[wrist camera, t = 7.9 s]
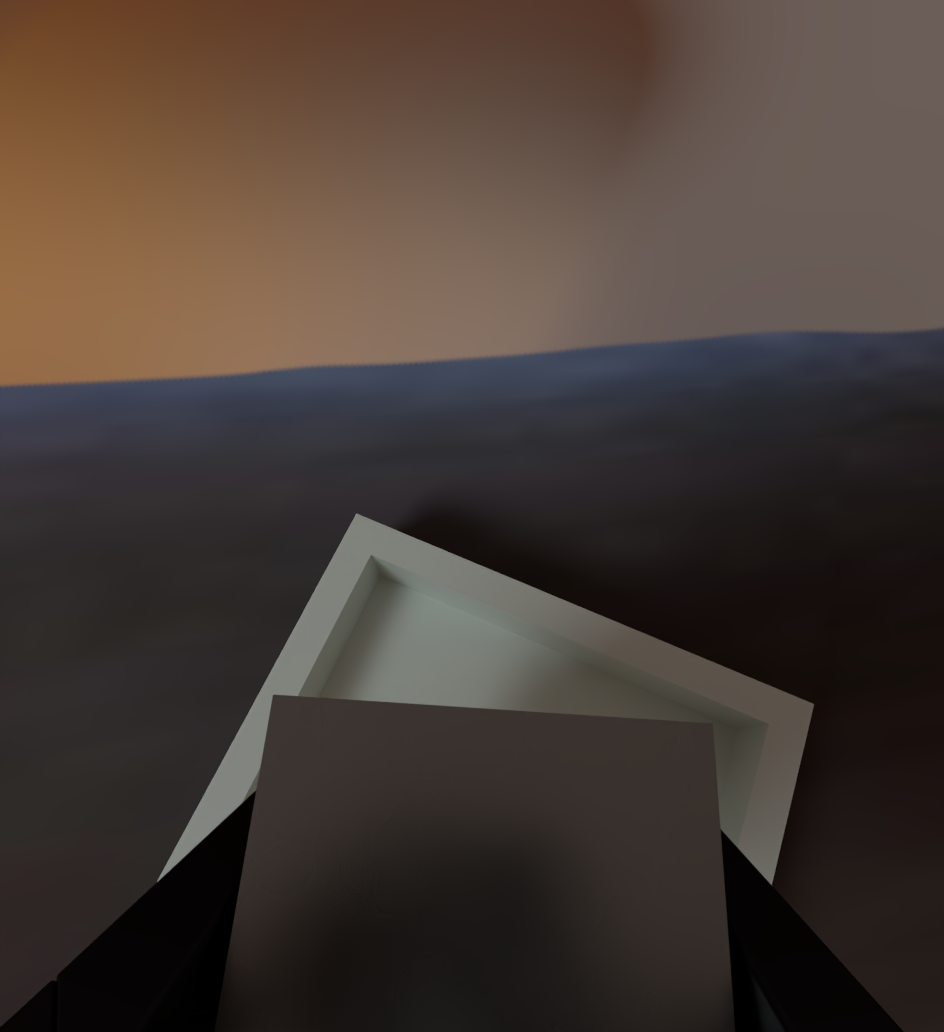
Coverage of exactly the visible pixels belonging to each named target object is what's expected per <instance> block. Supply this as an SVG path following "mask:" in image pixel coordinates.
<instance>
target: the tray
mask: <svg viewBox="0 0 944 1032" xmlns="http://www.w3.org/2000/svg"><path fill="white" fill-rule="evenodd" d="M273 695H288V696H303V697H319V698H334V699H349V700H364V701H379V702H394V703H409V704H425V705H440V706H455V707H470V708H485V709H500V710H516V711H531V712H546V713H561V714H576V715H591V716H606V717H622V718H637V719H652V720H667V721H682V722H697V723H713V733H714V747H715V760H716V774H717V788H718V801H719V815H720V829H721V830H722V831H723V832H724V833H725V834H726V835H727V836H728V837H729V839H730V840H731V841H732V842H733V843H734V844H735V845H736V846H737V847H738V849H739V850H740V851H741V852H742V853H743V854H744V855H745V856H746V857H747V859H748V860H749V861H750V862H751V863H752V864H753V865H754V866H755V867H756V869H757V870H758V871H759V872H760V873H761V874H762V875H763V876H764V877H765V879H766V880H767V881H768V882H769V883H770V884H771V885H772V882H773V878H774V873H775V869H776V865H777V861H778V856H779V852H780V848H781V844H782V839H783V835H784V831H785V826H786V822H787V818H788V814H789V809H790V805H791V801H792V797H793V792H794V788H795V784H796V779H797V775H798V771H799V767H800V762H801V758H802V754H803V749H804V745H805V741H806V737H807V732H808V728H809V724H810V720H811V715H812V711H813V707H814V704H812V703H810V702H808V701H805V700H803V699H800V698H798V697H796V696H793V695H791V694H788V693H786V692H784V691H781V690H779V689H776V688H774V687H772V686H769V685H767V684H764V683H762V682H760V681H757V680H755V679H752V678H750V677H748V676H745V675H743V674H740V673H738V672H736V671H733V670H731V669H728V668H726V667H724V666H721V665H719V664H716V663H714V662H712V661H709V660H707V659H704V658H702V657H700V656H697V655H695V654H692V653H690V652H688V651H685V650H683V649H680V648H678V647H676V646H673V645H671V644H668V643H666V642H664V641H661V640H659V639H656V638H654V637H652V636H649V635H647V634H644V633H642V632H639V631H637V630H635V629H632V628H630V627H627V626H625V625H623V624H620V623H618V622H615V621H613V620H611V619H608V618H606V617H603V616H601V615H599V614H596V613H594V612H591V611H589V610H587V609H584V608H582V607H579V606H577V605H575V604H572V603H570V602H567V601H565V600H563V599H560V598H558V597H555V596H553V595H551V594H548V593H546V592H543V591H541V590H539V589H536V588H534V587H531V586H529V585H527V584H524V583H522V582H519V581H517V580H515V579H512V578H510V577H507V576H505V575H503V574H500V573H498V572H495V571H493V570H491V569H488V568H486V567H483V566H481V565H479V564H476V563H474V562H471V561H469V560H467V559H464V558H462V557H459V556H457V555H455V554H452V553H450V552H447V551H445V550H443V549H440V548H438V547H435V546H433V545H431V544H428V543H426V542H423V541H421V540H418V539H416V538H414V537H411V536H409V535H406V534H404V533H402V532H399V531H397V530H394V529H392V528H390V527H387V526H385V525H382V524H380V523H378V522H375V521H373V520H370V519H368V518H366V517H363V516H361V515H358V514H356V515H355V517H354V519H353V521H352V523H351V525H350V527H349V528H348V530H347V532H346V534H345V536H344V538H343V539H342V541H341V543H340V545H339V547H338V549H337V551H336V552H335V554H334V556H333V558H332V560H331V562H330V563H329V565H328V567H327V569H326V571H325V573H324V575H323V576H322V578H321V580H320V582H319V584H318V586H317V587H316V589H315V591H314V593H313V595H312V597H311V599H310V600H309V602H308V604H307V606H306V608H305V610H304V611H303V613H302V615H301V617H300V619H299V621H298V622H297V624H296V626H295V628H294V630H293V632H292V634H291V635H290V637H289V639H288V641H287V643H286V645H285V646H284V648H283V650H282V652H281V654H280V656H279V658H278V659H277V661H276V663H275V665H274V667H273V669H272V670H271V672H270V674H269V676H268V678H267V680H266V682H265V683H264V685H263V687H262V689H261V691H260V693H259V694H258V696H257V698H256V700H255V702H254V704H253V706H252V707H251V709H250V711H249V713H248V715H247V717H246V718H245V720H244V722H243V724H242V726H241V728H240V730H239V731H238V733H237V735H236V737H235V739H234V741H233V742H232V744H231V746H230V748H229V750H228V752H227V753H226V755H225V757H224V759H223V761H222V763H221V765H220V766H219V768H218V770H217V772H216V774H215V776H214V777H213V779H212V781H211V783H210V785H209V787H208V789H207V790H206V792H205V794H204V796H203V798H202V800H201V801H200V803H199V805H198V807H197V809H196V811H195V813H194V814H193V816H192V818H191V820H190V822H189V824H188V825H187V827H186V829H185V831H184V833H183V835H182V837H181V838H180V840H179V842H178V844H177V846H176V848H175V849H174V851H173V853H172V855H171V857H170V859H169V861H168V862H167V864H166V866H165V868H164V870H163V872H162V873H161V875H160V877H159V879H158V881H159V880H160V879H161V878H162V877H163V876H164V875H165V874H166V873H167V872H169V871H170V870H171V869H172V868H173V867H174V866H175V865H176V864H177V863H178V862H179V861H180V860H181V859H183V858H184V857H185V856H186V855H187V854H188V853H189V852H190V851H191V850H192V849H193V848H194V847H195V846H196V845H198V844H199V843H200V842H201V841H202V840H203V839H204V838H205V837H206V836H207V835H208V834H209V833H210V832H211V831H213V830H214V829H215V828H216V827H217V826H218V825H219V824H220V823H221V822H222V821H223V820H224V819H225V818H227V817H228V816H229V815H230V814H231V813H232V812H233V811H234V810H235V809H236V808H237V807H238V806H239V805H240V804H242V803H243V802H244V801H245V800H246V799H247V798H248V797H249V796H250V795H251V794H252V793H253V792H254V791H256V789H257V784H258V778H259V772H260V766H261V761H262V755H263V749H264V743H265V738H266V732H267V726H268V720H269V715H270V709H271V703H272V697H273ZM158 881H157V882H158Z"/></svg>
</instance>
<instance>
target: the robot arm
mask: <svg viewBox="0 0 944 1032" xmlns="http://www.w3.org/2000/svg"><path fill="white" fill-rule="evenodd" d="M255 795H256V791H254V792H253V793H252V794H251V795H250V796H249V797H248V798H247V799H246V800H245V801H244V802H243V803H242V804H240V805H239V806H238V807H237V808H236V809H235V810H234V811H233V812H232V813H231V814H230V815H229V816H228V817H227V818H225V819H224V820H223V821H222V822H221V823H220V824H219V825H218V826H217V827H216V828H215V829H214V830H213V831H211V832H210V833H209V834H208V835H207V836H206V837H205V838H204V839H203V840H202V841H201V842H200V843H199V844H198V845H196V846H195V847H194V848H193V849H192V850H191V851H190V852H189V853H188V854H187V855H186V856H185V857H184V858H183V859H181V860H180V861H179V862H178V863H177V864H176V865H175V866H174V867H173V868H172V869H171V870H170V871H169V872H167V873H166V874H165V875H164V876H163V877H162V878H161V879H160V880H159V881H158V882H157V883H156V884H155V885H154V886H152V887H151V888H150V889H149V890H148V891H147V892H146V893H145V894H144V895H143V896H142V897H141V898H140V899H138V900H137V901H136V902H135V903H134V904H133V905H132V906H131V907H130V908H129V909H128V910H127V911H126V912H125V913H123V914H122V915H121V916H120V917H119V918H118V919H117V920H116V921H115V922H114V923H113V924H112V925H111V926H109V927H108V928H107V929H106V930H105V931H104V932H103V933H102V934H101V935H100V936H99V937H98V938H97V939H96V940H94V941H93V942H92V943H91V944H90V945H89V946H88V947H87V948H86V949H85V950H84V951H83V952H82V953H81V954H79V955H78V956H77V957H76V958H75V959H74V960H73V961H72V962H71V963H70V964H69V965H68V966H67V967H65V968H64V969H63V970H62V971H61V972H60V973H59V974H58V976H57V982H56V981H50V982H49V983H48V984H47V985H46V986H45V987H44V988H43V989H41V990H40V991H39V992H38V993H37V994H36V995H35V996H34V997H33V998H32V999H31V1000H30V1001H29V1002H28V1003H26V1004H25V1005H24V1006H23V1007H22V1008H21V1009H20V1010H19V1011H18V1012H17V1013H16V1014H14V1015H13V1016H12V1017H11V1018H10V1019H9V1020H8V1021H7V1022H5V1023H4V1024H3V1025H2V1026H1V1027H0V1032H214V1030H215V1025H216V1019H217V1013H218V1007H219V1002H220V996H221V990H222V984H223V979H224V973H225V967H226V961H227V956H228V950H229V944H230V938H231V933H232V927H233V921H234V916H235V910H236V904H237V898H238V893H239V887H240V881H241V875H242V870H243V864H244V858H245V852H246V847H247V841H248V835H249V829H250V824H251V818H252V812H253V806H254V801H255ZM721 842H722V856H723V870H724V883H725V897H726V910H727V924H728V938H729V951H730V965H731V979H732V992H733V1006H734V1020H735V1032H903V1031H902V1029H901V1028H900V1027H899V1026H898V1025H897V1024H896V1023H895V1022H894V1021H893V1019H892V1018H891V1017H890V1016H889V1015H888V1014H887V1013H886V1012H885V1011H884V1010H883V1008H882V1007H881V1006H880V1005H879V1004H878V1003H877V1002H876V1001H875V1000H874V998H873V997H872V996H871V995H870V994H869V993H868V992H867V991H866V990H865V988H864V987H863V986H862V985H861V984H860V983H859V982H858V981H857V980H856V978H855V977H854V976H853V975H852V974H851V973H850V972H849V971H848V970H847V968H846V967H845V966H844V965H843V964H842V963H841V962H840V961H839V960H838V958H837V957H836V956H835V955H834V954H833V953H832V952H831V951H830V950H829V948H828V947H827V946H826V945H825V944H824V943H823V942H822V941H821V940H820V938H819V937H818V936H817V935H816V934H815V933H814V932H813V931H812V930H811V928H810V927H809V926H808V925H807V924H806V923H805V922H804V921H803V920H802V918H801V917H800V916H799V915H798V914H797V913H796V912H795V911H794V910H793V909H792V907H791V906H790V905H789V904H788V903H787V902H786V901H785V900H784V899H783V897H782V896H781V895H780V894H779V893H778V892H777V891H776V890H775V889H774V887H773V886H772V885H771V884H770V883H769V882H768V881H767V880H766V879H765V877H764V876H763V875H762V874H761V873H760V872H759V871H758V870H757V869H756V867H755V866H754V865H753V864H752V863H751V862H750V861H749V860H748V859H747V857H746V856H745V855H744V854H743V853H742V852H741V851H740V850H739V849H738V847H737V846H736V845H735V844H734V843H733V842H732V841H731V840H730V839H729V837H728V836H727V835H726V834H725V833H724V832H723V831H722V830H721Z"/></svg>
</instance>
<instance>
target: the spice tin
mask: <svg viewBox="0 0 944 1032" xmlns="http://www.w3.org/2000/svg"><path fill="white" fill-rule="evenodd" d="M214 1032H735V1020H734V1006H733V992H732V979H731V965H730V951H729V938H728V924H727V910H726V897H725V883H724V870H723V856H722V842H721V829H720V815H719V801H718V788H717V774H716V760H715V747H714V733H713V723H697V722H682V721H667V720H652V719H637V718H622V717H606V716H591V715H576V714H561V713H546V712H531V711H516V710H500V709H485V708H470V707H455V706H440V705H425V704H409V703H394V702H379V701H364V700H349V699H334V698H319V697H303V696H288V695H273V697H272V703H271V709H270V715H269V720H268V726H267V732H266V738H265V743H264V749H263V755H262V761H261V766H260V772H259V778H258V784H257V789H256V795H255V801H254V806H253V812H252V818H251V824H250V829H249V835H248V841H247V847H246V852H245V858H244V864H243V870H242V875H241V881H240V887H239V893H238V898H237V904H236V910H235V916H234V921H233V927H232V933H231V938H230V944H229V950H228V956H227V961H226V967H225V973H224V979H223V984H222V990H221V996H220V1002H219V1007H218V1013H217V1019H216V1025H215V1030H214Z"/></svg>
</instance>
